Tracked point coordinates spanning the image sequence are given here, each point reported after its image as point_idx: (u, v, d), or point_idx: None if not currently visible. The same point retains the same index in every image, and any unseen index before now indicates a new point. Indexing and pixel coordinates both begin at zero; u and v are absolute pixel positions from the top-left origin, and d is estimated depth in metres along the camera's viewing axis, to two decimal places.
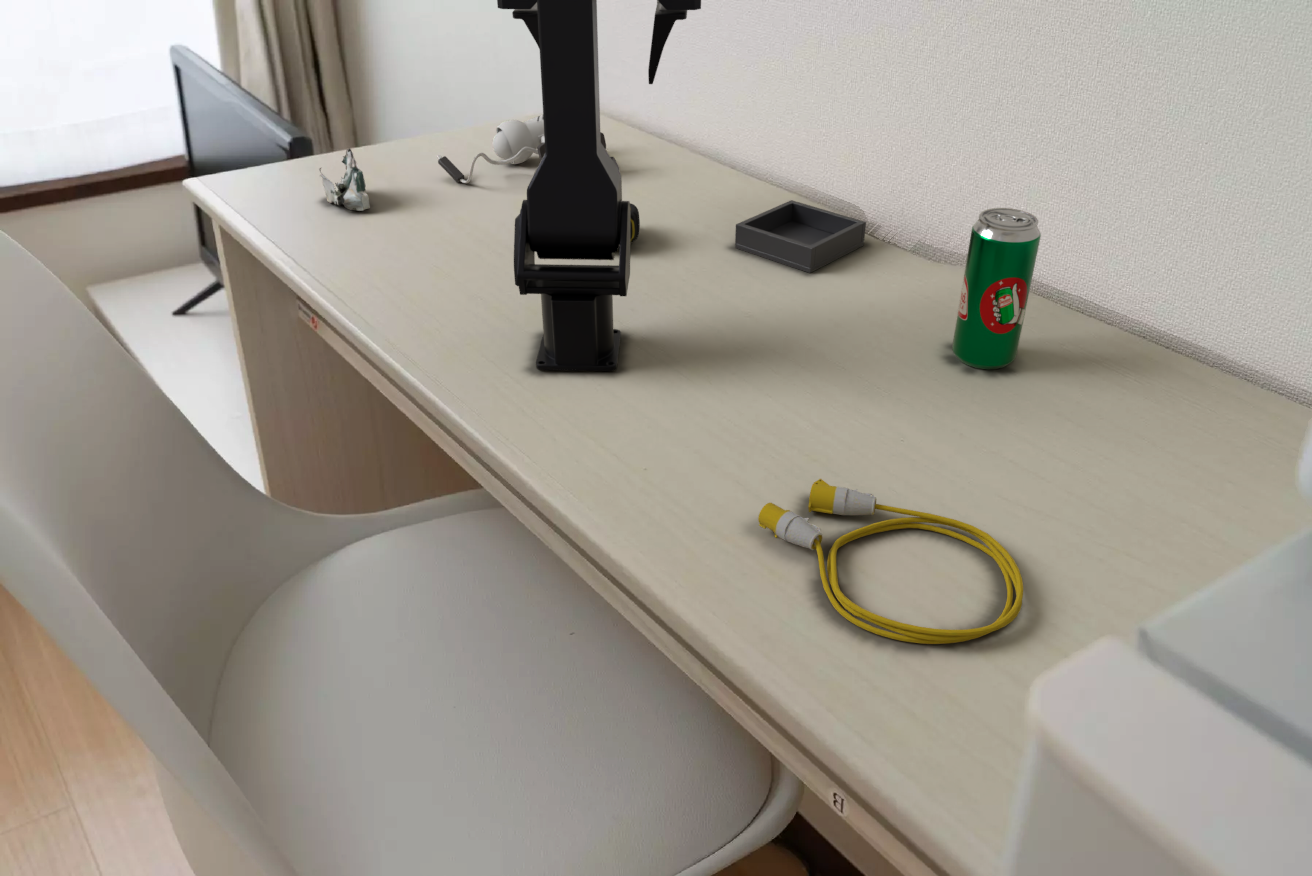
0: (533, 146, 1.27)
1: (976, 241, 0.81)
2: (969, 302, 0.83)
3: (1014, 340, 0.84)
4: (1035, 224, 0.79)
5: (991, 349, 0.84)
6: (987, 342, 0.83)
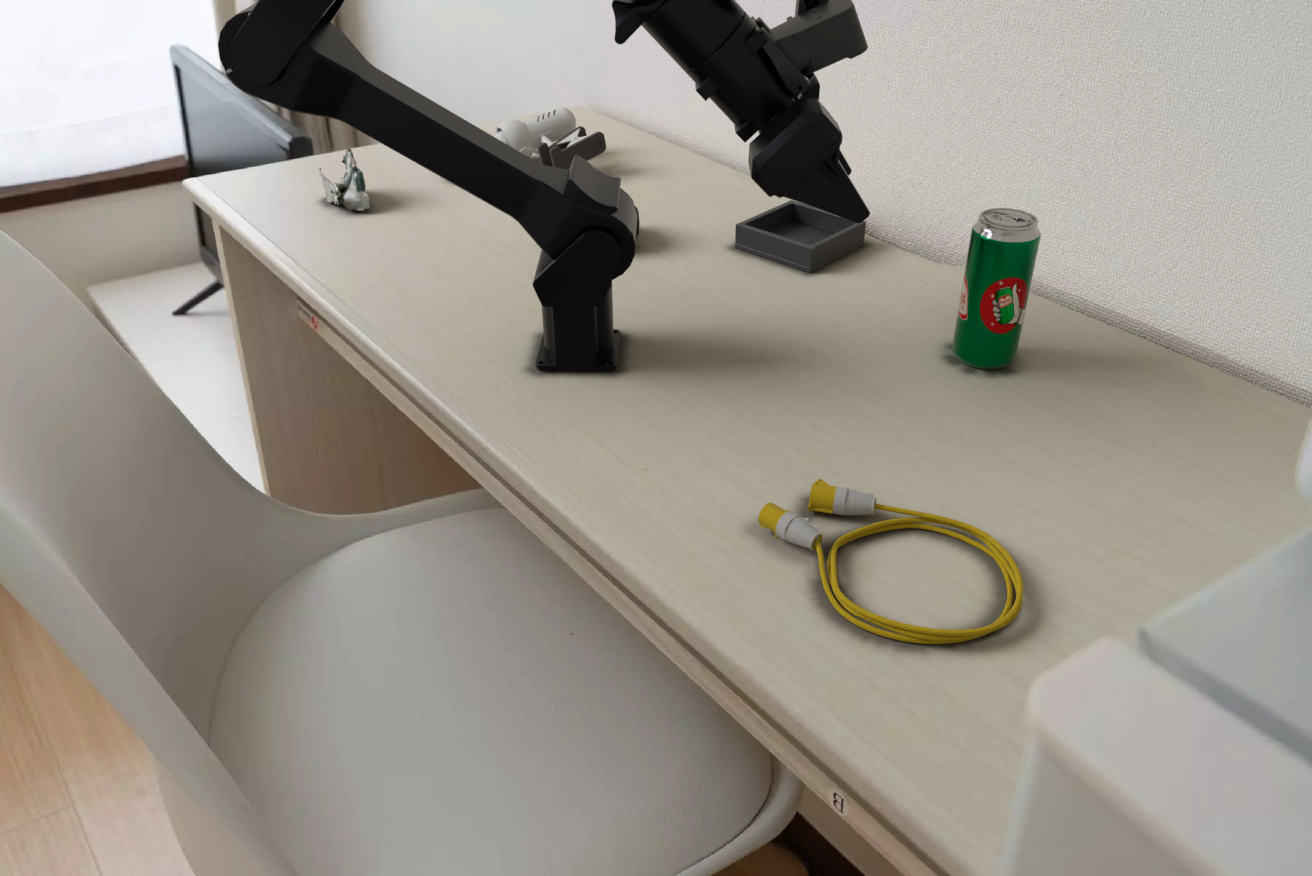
0: (533, 146, 1.27)
1: (976, 241, 0.81)
2: (969, 302, 0.83)
3: (1014, 340, 0.84)
4: (1035, 224, 0.79)
5: (991, 349, 0.84)
6: (987, 342, 0.83)
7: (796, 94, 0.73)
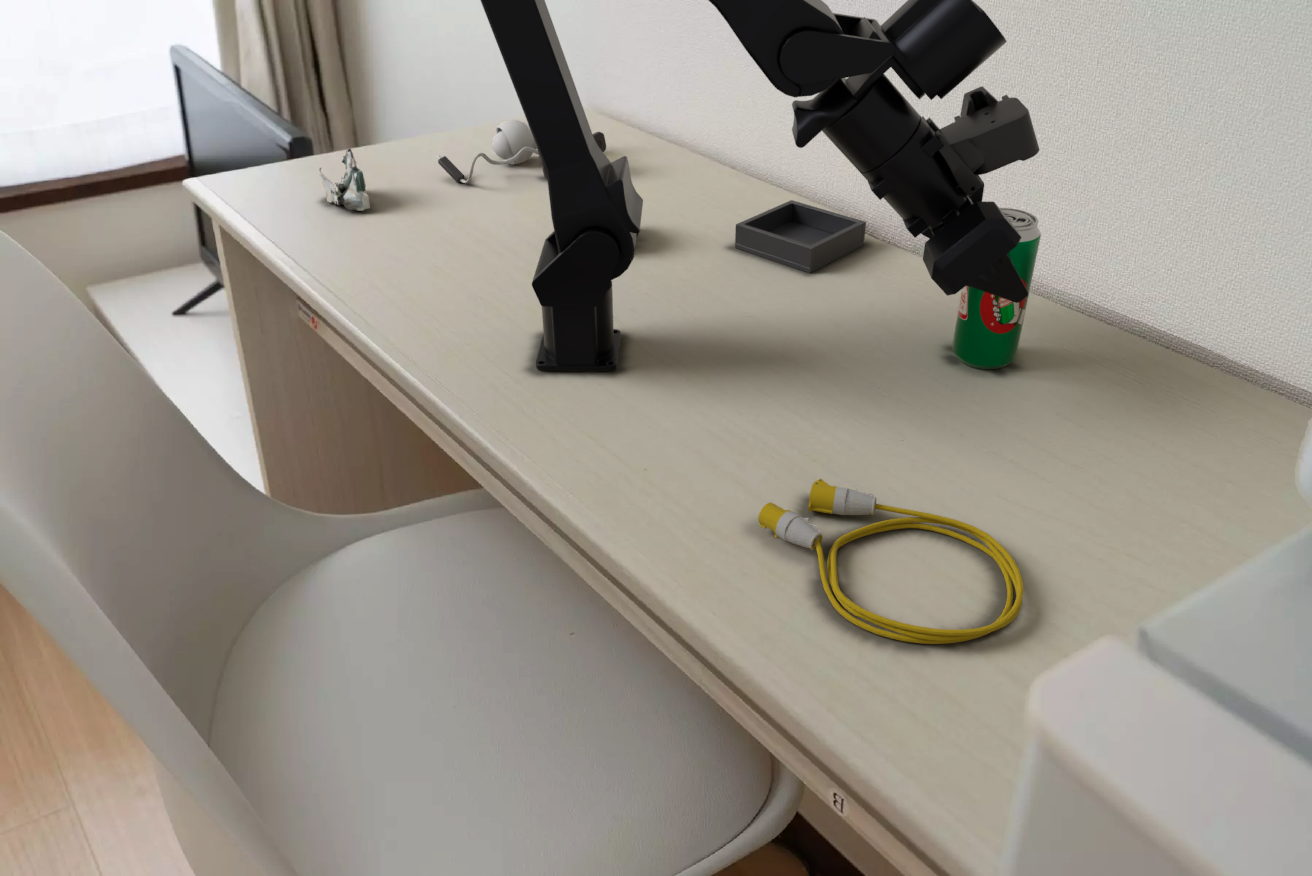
0: (533, 146, 1.27)
1: None
2: (969, 302, 0.83)
3: (1014, 340, 0.84)
4: (1035, 224, 0.79)
5: (991, 349, 0.84)
6: (987, 342, 0.83)
7: (969, 194, 0.76)
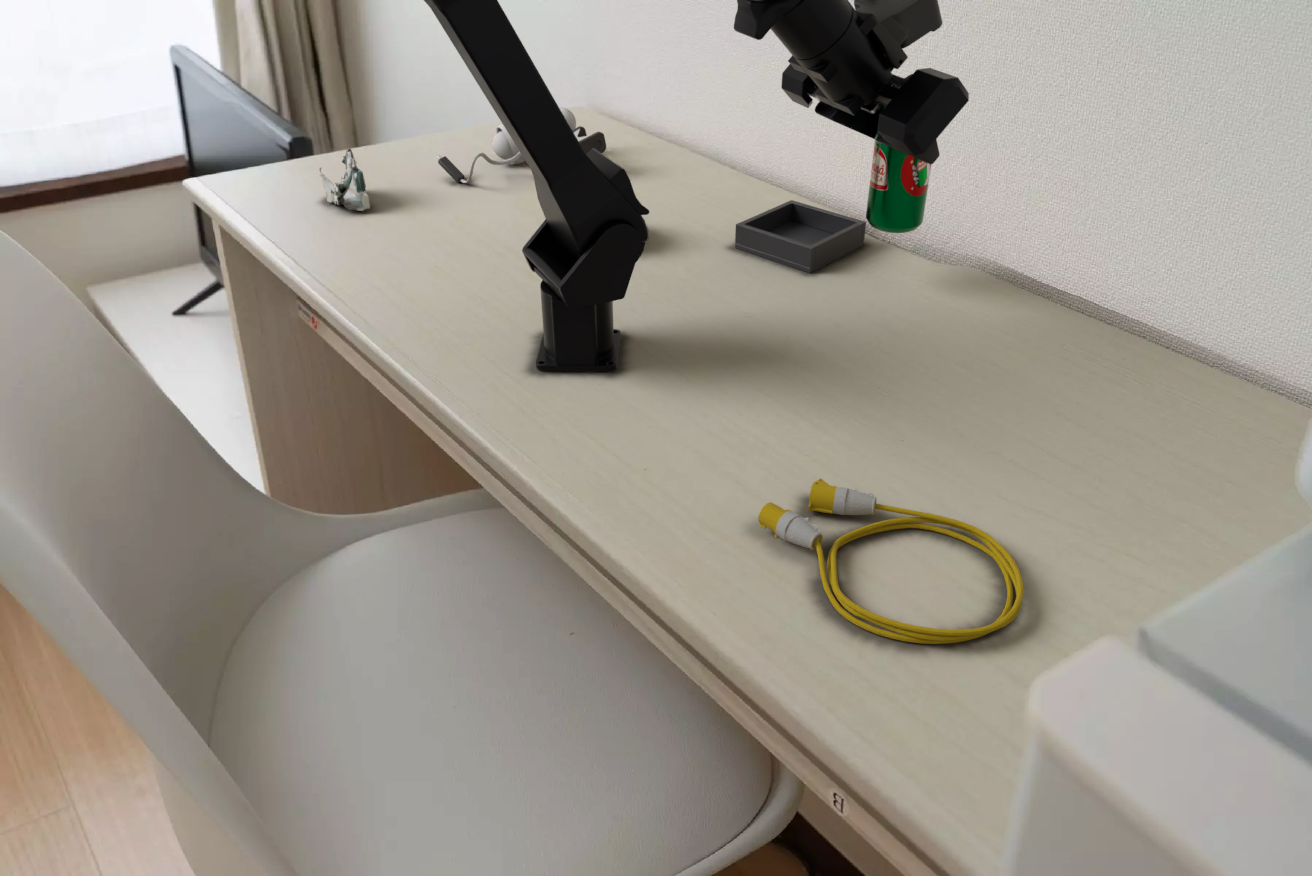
0: None
1: None
2: (889, 172, 0.91)
3: (925, 201, 0.94)
4: None
5: (912, 212, 0.93)
6: (908, 206, 0.93)
7: (897, 67, 0.84)
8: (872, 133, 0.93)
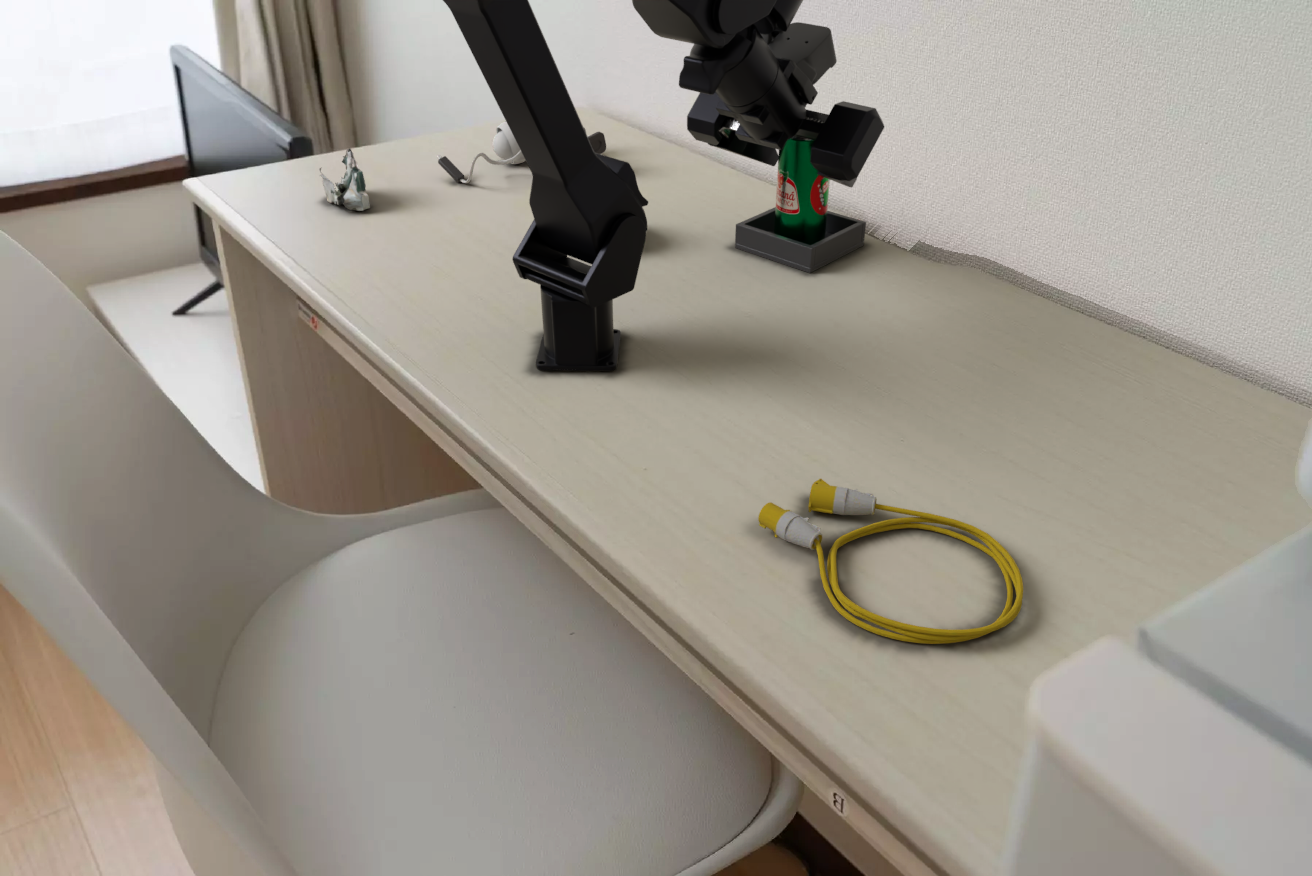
0: None
1: (799, 146, 0.99)
2: (799, 198, 1.01)
3: (826, 218, 1.05)
4: None
5: (820, 229, 1.03)
6: (817, 224, 1.03)
7: (811, 103, 0.94)
8: (758, 156, 1.04)
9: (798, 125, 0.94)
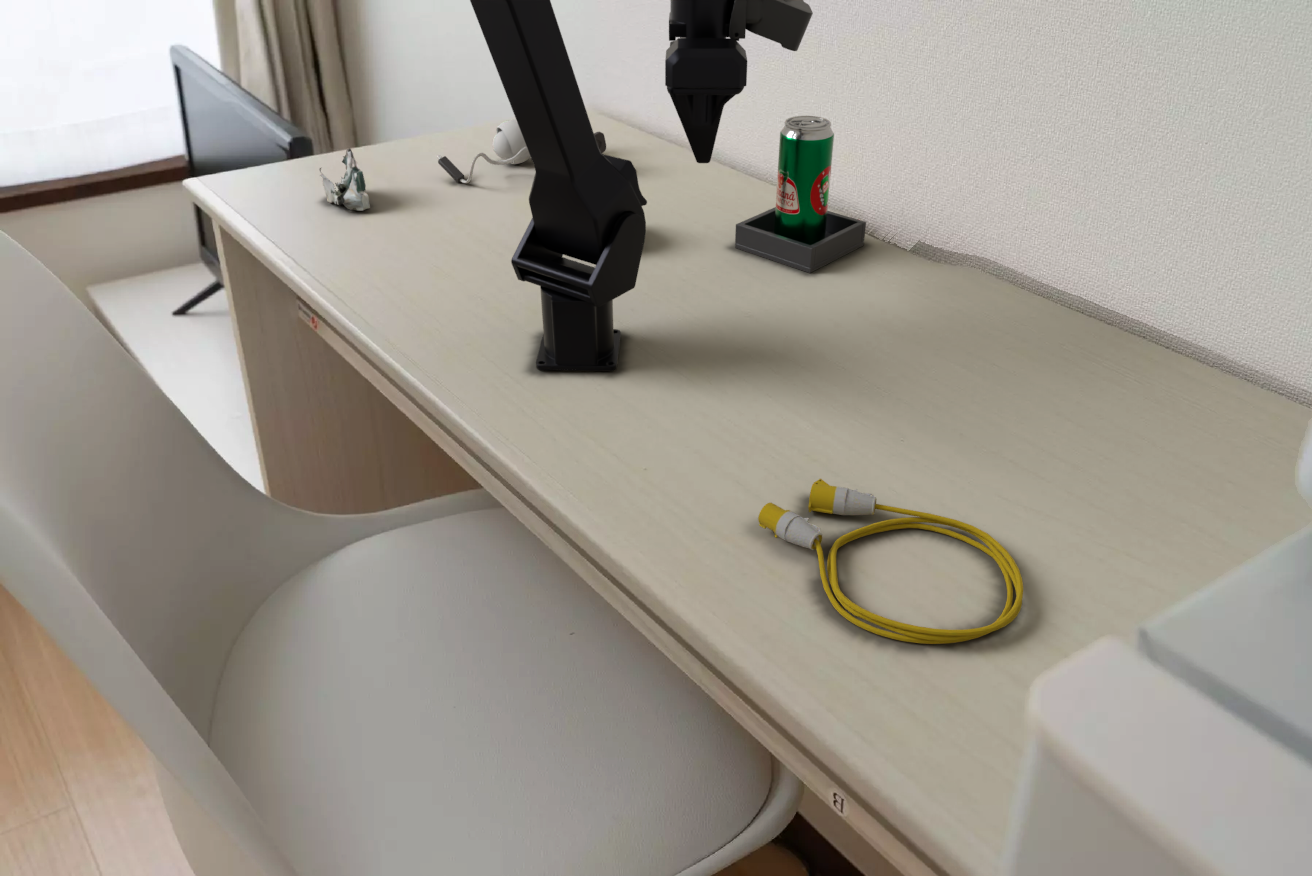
0: None
1: (799, 146, 0.99)
2: (799, 198, 1.01)
3: (826, 218, 1.05)
4: (829, 121, 1.00)
5: (820, 229, 1.03)
6: (817, 224, 1.03)
7: (731, 36, 0.84)
8: None
9: (701, 36, 0.85)
